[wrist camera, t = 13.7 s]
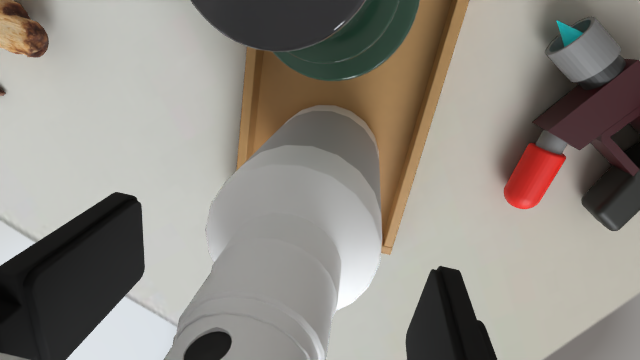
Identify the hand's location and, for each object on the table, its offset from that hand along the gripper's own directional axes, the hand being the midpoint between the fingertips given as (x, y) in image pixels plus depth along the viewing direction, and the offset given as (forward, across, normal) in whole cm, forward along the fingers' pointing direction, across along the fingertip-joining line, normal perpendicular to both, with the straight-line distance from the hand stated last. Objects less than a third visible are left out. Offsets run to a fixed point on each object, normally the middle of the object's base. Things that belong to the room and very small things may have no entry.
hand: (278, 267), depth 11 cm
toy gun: (+14, -14, -3) cm, 20 cm away
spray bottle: (+13, 0, +1) cm, 13 cm away
